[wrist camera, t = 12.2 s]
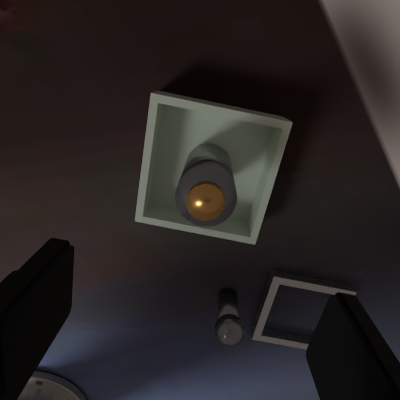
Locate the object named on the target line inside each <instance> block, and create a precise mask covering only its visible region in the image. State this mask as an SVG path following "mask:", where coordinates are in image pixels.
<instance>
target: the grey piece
mask: <svg viewBox="0 0 400 400" xmlns="http://www.w3.org/2000/svg"><path fill="white" fill-rule="evenodd" d="M279 284H281V285H286V286H291V287H296V288H301V289H307V290H312V291H317V292H322V293H328V294H333V295H335V294H336V293H337V292H341V293H346V294H351V295H356V293H357V292H356V290H355V289H354V287H353V286H352V285H351V284H345V283H340V282H335V281H330V280H325V279H319V278H314V277H309V276H304V275H299V274H293V273H288V272H283V271H278V270H273V269H272V270H271V273H270V276H269V279H268V282H267V285H266V288H265V291H264V294H263V297H262V300H261V303H260V305H259V308H258V311H257V314H256V317H255V320H254V323H253V326H252V329H251V337H252V340H257V341H263V342H268V343H274V344H279V345H284V346H290V347H295V348H301V349H306V350H307V347H308V345H309V343H310V341H311V338H312V337H310V336H304V335H299V334H294V333H288V332H283V331H278V330H272V329H267V328H264V326H265V323H266V320H267V317H268V314H269V312H270V309H271V306H272V303H273V301H274V298H275V295H276V292H277V290H278V287H279ZM218 303H219V319H218V320H217V322H216V324H215V334H216V337H217V339H218V340H219V341H220V342H221V343H222V344H224V345H226V346H234V345H237V344H238V343H239V342H240V341H241V340H242V339H243V337H244V333H245V328H244V324H243V322H242V320H241V319H240V318H239V311H238V302H237V293H236V292H235V290H233V289H231V288H224V289H222V290H221V291H220V292H219V294H218Z"/></svg>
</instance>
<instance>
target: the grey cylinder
mask: <svg viewBox="0 0 400 400" xmlns="http://www.w3.org/2000/svg"><path fill="white" fill-rule="evenodd" d="M175 202H176V206H177V209H178V211H179V212H180V214H181V215H182V216H183V217H184V218H185V219H186V220H188V221H189V222H191V223H193V224H195V225H199V226H214V225H217V224H220V223H222V222H224V221H225V220H226V219H228V218H229V217H230V215H231V214H232V213H233V211H234V209H235V207H236V203H237V192H236V187H235V182H234V176H233V171H232V165H231V160H230V157H229V155H228V153H227V152H226V151H225V150H224V149H223V148H222V147H220V146H218V145H216V144H211V143H206V144H201V145H199V146H197V147H195V148H194V149H193V150H192V151H191V152H190V154H189V155H188V158H187V160H186V163H185V166H184V169H183V171H182V174H181V177H180V180H179V183H178V185H177V188H176V192H175Z"/></svg>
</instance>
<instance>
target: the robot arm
mask: <svg viewBox="0 0 400 400" xmlns="http://www.w3.org/2000/svg"><path fill="white" fill-rule="evenodd" d="M73 264H74V246H71V245H70V243H69V241H67V240H61V239H56V238H51V239H49V240H48V241H47V242H46V243H45V244H44V245H43V246H42V247H41V248H40V249H39V250H38V251H37V252H36V253H35V254H34V255H33V256H32V257H31V258H30V259H29V260H28V261H27V262H26V263H25V264H24V265H23V266H22V267H21V268H20V269H19V270H18V271H17V270H16V271H13V272H12V273H10V274H9V275H8V276H7V277H6V278H5V279H4V280H3V281H2V282H1V283H0V400H86V398H85V396H84V395H83V394H82V392H81V391H80V390H79V389H78V388H77V387H76V386H75V385H73V384H72V383H70V382H69V381H67V380H65V379H63V378H61V377H59V376H56V375H53V374H50V373H45V372H40V371H35V370H36V368H37V366H38V365H39V363H40V361H41V360H42V358H43V357H44V355H45V353H46V352H47V350H48V348H49V347H50V345H51V343H52V342H53V340H54V339H55V337H56V335H57V334H58V332H59V330H60V329H61V327H62V326H63V324H64V322H65V321H66V319H67V317H68V316H69V313H70V310H71V306H72V286H73ZM306 358H307V362H308V365H309V368H310V371H311V374H312V377H313V380H314V383H315V386H316V389H317V392H318V395H319V398H320V400H400V363H399V361H398V359H397V358H396V356H395V355H394V353H393V352H392V350H391V349H390V347H389V346H388V344H387V343H386V341H385V340H384V338H383V337H382V335H381V334H380V332H379V331H378V329H377V328H376V326H375V325H374V323H373V321H372V320H371V318H370V317H369V315H368V314H367V312H366V311H365V309H364V308H363V306H362V305H361V303H360V302H359V300H358V299H357V297H356V296H355V295H351V294H346V293H341V292H337V293H336V294H335V295H331V296H330V298H329V300H328V302H327V304H326V307H325V309H324V311H323V313H322V316H321V318H320V320H319V323H318V325H317V327H316V329H315V332H314V334H313V336H312V338H311V341H310V343H309V345H308V347H307V351H306Z"/></svg>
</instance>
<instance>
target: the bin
mask: <svg viewBox="0 0 400 400" xmlns="http://www.w3.org/2000/svg"><path fill="white" fill-rule="evenodd" d="M292 123H293V122H291V121H289V120H288V119H286V118H284V117H283V116H278V115H273V114H268V113H263V112H259V111H254V110H249V109H244V108H239V107H235V106H230V105H225V104H220V103H216V102H211V101H206V100H201V99H196V98H192V97H187V96H182V95H177V94H173V93H168V92H163V91H156V92H152V93H151V97H150V105H149V113H148V121H147V129H146V137H145V145H144V152H143V160H142V168H141V176H140V184H139V192H138V200H137V208H136V216H135V221H136V222H141V223H146V224H151V225H156V226H162V227H167V228H172V229H177V230H182V231H187V232H192V233H197V234H203V235H208V236H213V237H218V238H223V239H228V240H233V241H239V242H244V243H249V244H254V245H255V244H256V241H257V238H258V234H259V231H260V228H261V224H262V221H263V218H264V215H265V211H266V208H267V205H268V202H269V198H270V195H271V192H272V189H273V185H274V182H275V179H276V175H277V172H278V169H279V166H280V162H281V159H282V156H283V153H284V149H285V146H286V143H287V140H288V136H289V133H290V130H291V126H292ZM206 143H211V144H216V145H218V146H220V147H222V148H223V149H224V150H225V151H226V152H227V153H228V155H229V157H230V160H231V165H232V171H233V176H234V182H235V187H236V192H237V203H236V207H235V209H234V211H233V213H232V214H231V215H230V217H229V218H228V219H226V220H225V221H224V222H222V223H220V224H217V225H214V226H199V225H195V224H193V223H191V222H189V221H188V220H186V219H185V218H184V217H183V216H182V215H181V214H180V212H179V211H178V209H177V206H176V202H175V192H176V188H177V185H178V183H179V180H180V177H181V174H182V171H183V169H184V166H185V163H186V160H187V158H188V155H189V154H190V152H191V151H192V150H193V149H194V148H195V147H197V146H199V145H201V144H206Z"/></svg>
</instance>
